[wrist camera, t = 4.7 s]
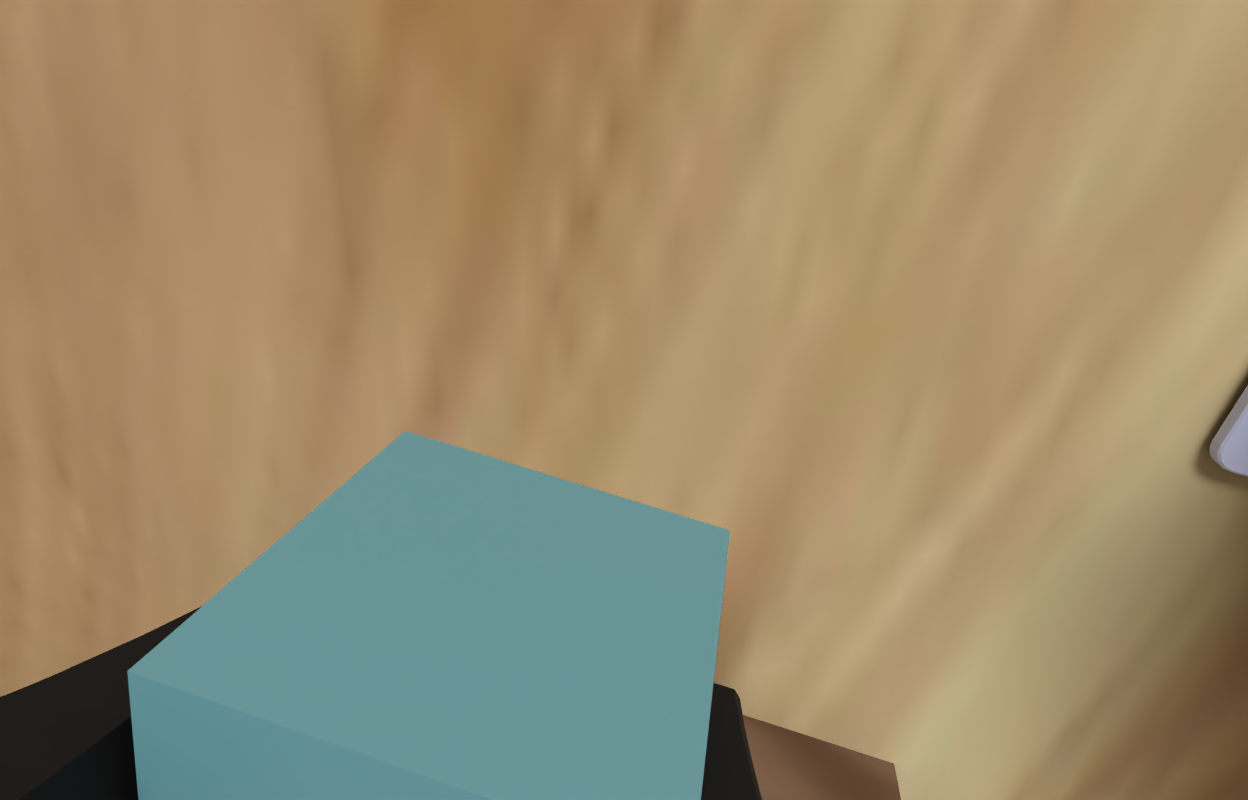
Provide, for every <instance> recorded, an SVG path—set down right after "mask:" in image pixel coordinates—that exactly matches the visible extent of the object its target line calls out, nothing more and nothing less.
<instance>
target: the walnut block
mask: <svg viewBox="0 0 1248 800" xmlns="http://www.w3.org/2000/svg"><path fill="white" fill-rule="evenodd" d="M743 720H744V725H745V731H746V735H747V740H748V745H749V749H750V753H751V758H752V762H753V766H754V770H755V774H756V778H757V782H758V786H759V790H760V793H761V797H762V800H901V798H900V793H899V787H898V782H897V777H896V772H895V767H894V764H893V763H890V762H887V761H884V760H881V759H878V758H875V757H872V756H868V755H865V754H862V753H859V752H856V751H853V750H850V749H847V748H844V747H841V746H837V745H834V744H831V743H828V742H825V741H822V740H819V739H816V738H813V737H810V736H806V735H803V734H800V733H797V732H794V731H791V730H788V729H785V728H782V727H779V726H775V725H772V724H769V723H766V722H763V721H760V720H757V719H754V718H751V717H748V716H744V715H743Z"/></svg>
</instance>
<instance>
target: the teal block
mask: <svg viewBox="0 0 1248 800" xmlns="http://www.w3.org/2000/svg"><path fill="white" fill-rule="evenodd" d="M729 534H730V530H726V529H723V528H720V527H717V526H713V525H710V524H707V523H704V522H700V521H697V520H694V519H691V518H687V517H684V516H681V515H678V514H674V513H671V512H668V511H665V510H661V509H658V508H655V507H652V506H648V505H645V504H642V503H639V502H635V501H632V500H629V499H626V498H622V497H619V496H616V495H612V494H609V493H606V492H603V491H599V490H596V489H593V488H590V487H586V486H583V485H580V484H577V483H573V482H570V481H567V480H564V479H560V478H557V477H554V476H551V475H547V474H544V473H541V472H538V471H534V470H531V469H528V468H525V467H521V466H518V465H515V464H512V463H508V462H505V461H502V460H499V459H495V458H492V457H489V456H485V455H482V454H479V453H476V452H472V451H469V450H466V449H463V448H459V447H456V446H453V445H450V444H446V443H443V442H440V441H437V440H433V439H430V438H427V437H424V436H420V435H417V434H414V433H411V432H407V431H405V432H403V433H402V434H401V435H400V436H399V437H398V438H397V439H395V440H394V441H393V442H392V443H391V444H390V445H388V446H387V447H386V448H385V449H384V450H383V451H381V452H380V453H379V454H378V455H377V456H376V457H375V458H373V459H372V460H371V461H370V462H369V463H368V464H366V465H365V466H364V467H363V468H362V469H361V470H359V471H358V472H357V473H356V474H355V475H354V476H353V477H351V478H350V479H349V480H348V481H347V482H346V483H344V484H343V485H342V486H341V487H340V488H339V489H337V490H336V491H335V492H334V493H333V494H332V495H331V496H329V497H328V498H327V499H326V500H325V501H324V502H322V503H321V504H320V505H319V506H318V507H317V508H315V509H314V510H313V511H312V512H311V513H310V514H309V515H307V516H306V517H305V518H304V519H303V520H302V521H300V522H299V523H298V524H297V525H296V526H295V527H293V528H292V529H291V530H290V531H289V532H288V533H287V534H285V535H284V536H283V537H282V538H281V539H280V540H278V541H277V542H276V543H275V544H274V545H273V546H271V547H270V548H269V549H268V550H267V551H266V552H265V553H263V554H262V555H261V556H260V557H259V558H258V559H256V560H255V561H254V562H253V563H252V564H251V565H249V566H248V567H247V568H246V569H245V570H244V571H243V572H241V573H240V574H239V575H238V576H237V577H236V578H234V579H233V580H232V581H231V582H230V583H229V584H227V585H226V586H225V587H224V588H223V589H222V590H221V591H219V592H218V593H217V594H216V595H215V596H214V597H212V598H211V599H210V600H209V601H208V602H207V603H205V604H204V605H203V606H202V607H201V608H200V609H199V610H197V611H196V612H195V613H194V614H193V615H192V616H190V617H189V618H188V619H187V620H186V621H185V622H183V623H182V624H181V625H180V626H179V627H178V628H177V629H175V630H174V631H173V632H172V633H171V634H170V635H168V636H167V637H166V638H165V639H164V640H163V641H161V642H160V643H159V644H158V645H157V646H156V647H155V648H153V649H152V650H151V651H150V652H149V653H148V654H146V655H145V656H144V657H143V658H142V659H141V660H139V661H138V662H137V663H136V664H135V665H134V666H133V667H131V668H130V669H129V670H128V671H127V673H128V685H129V696H130V708H131V719H132V731H133V743H134V754H135V766H136V777H137V789H138V800H701V794H702V784H703V775H704V766H705V756H706V747H707V738H708V729H709V719H710V710H711V701H712V692H713V682H714V673H715V664H716V655H717V645H718V636H719V627H720V618H721V608H722V599H723V590H724V580H725V571H726V562H727V553H728V543H729Z"/></svg>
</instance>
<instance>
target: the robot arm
mask: <svg viewBox="0 0 1248 800" xmlns="http://www.w3.org/2000/svg"><path fill="white" fill-rule="evenodd" d="M1209 449H1210V456H1211V457H1212V458H1213V460H1214V461H1215V462H1216V463H1217V464H1218V465H1220V466H1221V467H1222V468H1224V469H1226V470H1228V471H1230V472H1233V473H1236V474H1240V475H1244V476H1247V477H1248V385H1247V387H1246V388H1245V390H1244V392H1243V393H1242V395H1241V396H1240V398H1239V399H1238V401H1237V402H1236V404H1235V406H1234V407H1233V409H1232V410H1231V412H1230V413H1229V415H1228V416H1227V418H1226V420H1225V421H1224V423H1223V424H1222V426H1221V427H1220V429H1219V431H1218V432H1217V434H1216V435H1215V437H1214V438H1213V440H1212V442H1211V445H1210V448H1209ZM200 608H201V607H200ZM200 608H197V609H195V610H193V611H191V612H189V613H187V614H185V615H183V616H181V617H179V618H177V619H175V620H173V621H171V622H169V623H167V624H165V625H163V626H161V627H159V628H157V629H155V630H153V631H151V632H149V633H146V634H144V635H142V636H140V637H138V638H136V639H133V640H131V641H129V642H127V643H125V644H122V645H120V646H118V647H116V648H113V649H111V650H109V651H107V652H104V653H102V654H100V655H98V656H96V657H93V658H91V659H89V660H87V661H84V662H82V663H80V664H78V665H76V666H73V667H71V668H69V669H67V670H64V671H62V672H60V673H58V674H55V675H53V676H51V677H49V678H46V679H44V680H41V681H39V682H37V683H34V684H32V685H29V686H27V687H24V688H22V689H19V690H17V691H14V692H12V693H10V694H7V695H5V696H2V697H0V800H138V789H137V777H136V766H135V754H134V743H133V731H132V719H131V708H130V696H129V685H128V673H127V671H128V670H129V669H130V668H131V667H133V666H134V665H135V664H136V663H137V662H138V661H139V660H141V659H142V658H143V657H144V656H145V655H146V654H148V653H149V652H150V651H151V650H152V649H153V648H155V647H156V646H157V645H158V644H159V643H160V642H161V641H163V640H164V639H165V638H166V637H167V636H168V635H170V634H171V633H172V632H173V631H174V630H175V629H177V628H178V627H179V626H180V625H181V624H182V623H183V622H185V621H186V620H187V619H188V618H189V617H190V616H192V615H193V614H194V613H195V612H196V611H197V610H199V609H200ZM701 800H762V797H761V793H760V790H759V786H758V782H757V778H756V774H755V770H754V766H753V762H752V758H751V753H750V749H749V745H748V740H747V735H746V731H745V725H744V720H743V715H742V709H741V703H740V698H739V696H738V694H737V693H736V691H735V689H731V688H728V687H725V686H722V685H719V684H715V683H713V692H712V701H711V710H710V719H709V729H708V738H707V747H706V756H705V766H704V775H703V784H702V794H701Z"/></svg>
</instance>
